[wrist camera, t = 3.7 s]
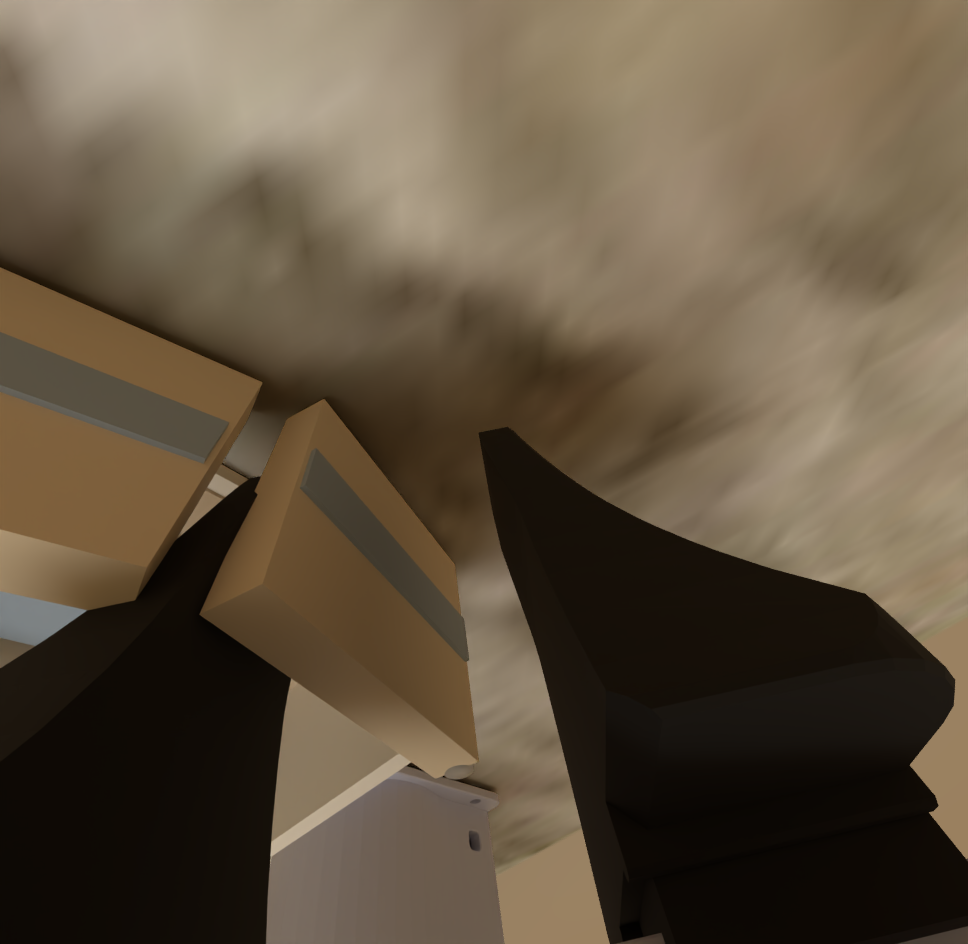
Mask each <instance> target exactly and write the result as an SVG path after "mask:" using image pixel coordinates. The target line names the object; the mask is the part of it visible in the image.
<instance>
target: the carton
mask: <svg viewBox="0 0 968 944" xmlns="http://www.w3.org/2000/svg"><path fill="white" fill-rule="evenodd" d="M247 480H248V479H247V478H245V477H243V476H241V475H240V474H238V473H236V472H234V471H232V470H231V469H229V468H227V467H225V466H224V465H222V464H221V465H220V467H219V469H218V470H217V472H216V474H215V475H214V477H213V479H212V480H211V482H210V484H209V486H208V487H207V489H206V491H205V492H204V494H203V496H202V497H201V499H200V501H199V502H198V504H197V506H196V507H195V509H194V511H193V512H192V514H191V516H190V517H189V519H188V521H187V522H186V524H185V526H184V527H183V529H182V531H181V532H180V534H179V536H178V538H179V537H180V536H181V535H182V534H183V533H185V532H186V531H187V530H188V529H189V528H190V527H191V526H193V525H194V524H195V523H196V522H197V521H198V520H199V519H201V518H202V517H203V516H204V515H205V514H206V513H207V512H209V511H210V510H211V509H212V508H213V507H214V506H216V505H217V504H218V503H219V502H220V501H221V500H223V499H224V498H225V497H226V496H227V495H228V494H230V493H231V492H232V491H233V490H235V489H236V488H237V487H238V486H240V485H241V484H242V483H244V482H245V481H247ZM33 647H35V646H33V645H29V644H25V643H20V642H16V641H12V640H7V639H3V638H0V668H1V667H3V666H5V665H6V664H8V663H9V662H11V661H12V660H14V659H16V658H17V657H19V656H20V655H22V654H24V653H25V652H27V651H28V650H30V649H31V648H33ZM410 763H411V762H410V761H409V760H408V759H406V758H405V757H403V756H402V755H400V754H399V753H397V752H396V751H395V750H393V749H392V748H390V747H389V746H387V745H386V744H385V743H383V742H382V741H380V740H379V739H377V738H376V737H374V736H373V735H372V734H370V733H369V732H367V731H366V730H364V729H363V728H362V727H360V726H359V725H357V724H356V723H354V722H353V721H352V720H350V719H349V718H347V717H346V716H344V715H343V714H341V713H340V712H339V711H337V710H336V709H334V708H333V707H331V706H330V705H329V704H327V703H326V702H324V701H323V700H321V699H320V698H318V697H317V696H316V695H314V694H313V693H311V692H310V691H308V690H307V689H306V688H304V687H303V686H301V685H300V684H298V683H297V682H295V681H294V680H293V679H291V682H290V687H289V691H288V697H287V702H286V708H285V713H284V721H283V729H282V737H281V746H280V754H279V762H278V772H277V782H276V793H275V804H274V814H273V825H272V840H271V855H270V857H272V856H273V855H275V854H276V853H277V852H279V851H280V850H282V849H283V848H285V847H286V846H288V845H289V844H291V843H292V842H294V841H295V840H297V839H298V838H300V837H301V836H303V835H304V834H306V833H307V832H309V831H310V830H312V829H313V828H315V827H316V826H318V825H319V824H321V823H322V822H323V821H325V820H326V819H328V818H329V817H331V816H332V815H334V814H335V813H337V812H338V811H340V810H341V809H343V808H344V807H346V806H347V805H349V804H350V803H352V802H353V801H355V800H356V799H358V798H359V797H361V796H362V795H364V794H365V793H366V792H368V791H369V790H371V789H372V788H374V787H375V786H377V785H378V784H380V783H381V782H383V781H384V780H386V779H387V778H389V777H390V776H392V775H393V774H395V773H396V772H398V771H399V770H401V769H402V768H404V767H405V766H407V765H408V764H410Z"/></svg>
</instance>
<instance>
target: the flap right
mask: <svg viewBox="0 0 968 944" xmlns="http://www.w3.org/2000/svg"><path fill="white" fill-rule="evenodd" d="M255 492H256V493H257V494H258V495H257V497H256V499H255V501H254V503H253V505H252V507H251V508H250V510H249V512H248V514H247V516H246V518H245V520H244V522H243V524H242V526H241V528H240V529H239V531H238V533H237V535H236V537H235V539H234V541H233V543H232V545H231V547H230V549H229V550H228V552H227V554H226V556H225V558H224V561H223V563H222V565H221V567H220V569H219V572H218V574H217V576H216V578H215V581H214V583H213V585H212V587H211V590H210V592H209V594H208V596H207V598H206V601H205V603H204V605H203V607H202V610H201V612H200V614H199V615H201V616H202V617H204V618H205V619H206V620H208V621H209V622H211V623H212V624H214V625H215V626H216V627H218V628H219V629H221V630H222V631H224V632H225V633H227V634H228V635H229V636H231V637H232V638H234V639H235V640H237V641H238V642H239V643H241V644H242V645H244V646H245V647H247V648H248V649H250V650H251V651H252V652H254V653H255V654H257V655H258V656H260V657H261V658H262V659H264V660H265V661H267V662H268V663H270V664H271V665H272V666H274V667H275V668H277V669H278V670H280V671H281V672H283V673H284V674H285V675H287V676H288V677H290V678H291V679H293V680H294V681H295V682H297V683H298V684H300V685H301V686H303V687H304V688H306V689H307V690H308V691H310V692H311V693H313V694H314V695H316V696H317V697H318V698H320V699H321V700H323V701H324V702H326V703H327V704H329V705H330V706H331V707H333V708H334V709H336V710H337V711H339V712H340V713H341V714H343V715H344V716H346V717H347V718H349V719H350V720H352V721H353V722H354V723H356V724H357V725H359V726H360V727H362V728H363V729H364V730H366V731H367V732H369V733H370V734H372V735H373V736H374V737H376V738H377V739H379V740H380V741H382V742H383V743H385V744H386V745H387V746H389V747H390V748H392V749H393V750H395V751H396V752H397V753H399V754H400V755H402V756H403V757H405V758H406V759H408V760H409V761H410V762H412V763H413V764H415V765H416V766H418V767H419V768H420V769H422V770H423V771H425V772H426V773H428V774H429V775H431V776H432V777H433V778H435V779H436V778H439V777H441V776H444V775H445V776H446V777H447V778H449V779H462V778H466V777H468V776H470V775H471V774H472V773H473V772H474V766H473V764H475V763H477V762H479V758H478V750H477V742H476V733H475V725H474V717H473V709H472V701H471V692H470V684H469V676H468V668H467V661H468V660H469V655H468V647H467V639H466V631H465V623H464V618H463V617H462V616H461V610H460V602H459V594H458V586H457V578H456V569H455V564H454V563H453V562H452V560H451V559H450V558H449V557H448V555H447V554H446V553H445V551H444V550H443V549H442V548H441V546H440V545H439V544H438V543H437V541H436V540H435V539H434V538H433V536H432V535H431V534H430V532H429V531H428V530H427V529H426V527H425V526H424V525H423V524H422V522H421V521H420V520H419V518H418V517H417V516H416V515H415V513H414V512H413V511H412V510H411V508H410V507H409V506H408V504H407V503H406V502H405V501H404V499H403V498H402V497H401V496H400V494H399V493H398V492H397V491H396V489H395V488H394V487H393V485H392V484H391V483H390V482H389V480H388V479H387V478H386V477H385V475H384V474H383V473H382V471H381V470H380V469H379V468H378V466H377V465H376V464H375V463H374V461H373V460H372V459H371V458H370V456H369V455H368V454H367V452H366V451H365V450H364V449H363V447H362V446H361V445H360V444H359V442H358V441H357V440H356V438H355V437H354V436H353V435H352V433H351V432H350V431H349V430H348V428H347V427H346V426H345V424H344V423H343V422H342V421H341V419H340V418H339V417H338V416H337V414H336V413H335V412H334V411H333V409H332V408H331V407H330V405H329V404H328V403H327V402H326V400H325V399H323V400H321V401H319V402H317V403H315V404H313V405H312V406H310V407H308V408H306V409H304V410H302V411H301V412H299V413H297V414H295V415H293V416H291V417H290V418H288V419H287V420H286V422H285V425H284V427H283V429H282V431H281V434H280V436H279V438H278V440H277V442H276V445H275V447H274V449H273V451H272V454H271V456H270V458H269V460H268V462H267V465H266V467H265V469H264V471H263V474H262V476H261V478H260V480H259V483H258V485H257V487H256V489H255Z"/></svg>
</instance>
